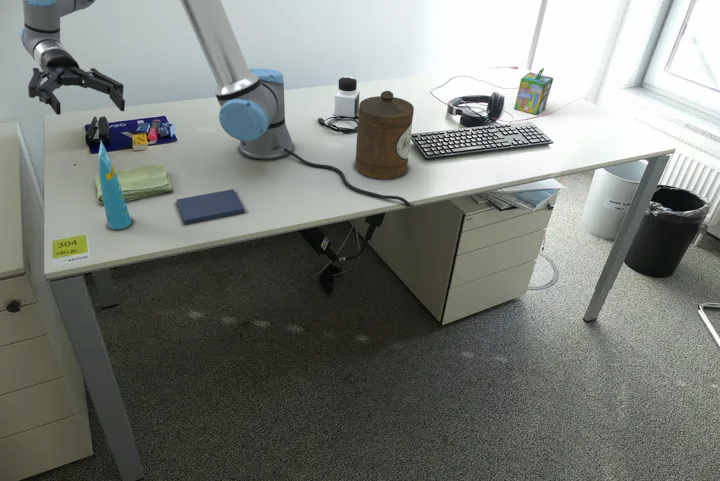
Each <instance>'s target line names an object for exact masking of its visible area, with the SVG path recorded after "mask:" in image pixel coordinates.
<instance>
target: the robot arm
mask: <svg viewBox="0 0 720 481" xmlns="http://www.w3.org/2000/svg"><path fill="white" fill-rule="evenodd" d="M96 1H97V0H22V8H23V11H22V12H23V22H24V24H23V26H22V28H21V29H20V32H19V38H20V41H21V43H22V46H23V47H24V49H25V50H26V51H27V53H28V54H29V55H30V56H31V57H32V59H33V60H34V62H36V65H38V66H39V67H33V68H32V76H31V79H30V81H29V83H28V85H27V88H28V90H27V91H28V97H29V98H31V99H34V98H36V97H38V101H39V102H41V103H44V104H45V105H49V106H50V108H51V109H52V110H53V112H54V113H55V114H56V115H60V116H61V115H62V113H61V110H62V108H61V102H60V100H59V99H58V98H57V96H56V94H54V93H53V92H54V91H55V90H59V89H60V88H61V87H63V86H65V87H69V86H75V87H76V86H78V87H80V88H83V89H88V88H89V89H91V90H95V91H97V92H100V93H103V94H106V95H108V96H109V99H110V100H111V102H113V104H114V105H115V106H116V107H117V108H118V110H119V112H125V108H126V107H125V106H126V104H125V103H126V100H125V99H124V88H125V87H124V86H125V85H124V83H121V82H119V81H117V80H116V79H114V78H111V77H110V76H107V75H106V74H104V73H102V72H100V71H98V69H96V68H95V67H91V68H90V70H89V71H88V70H87V71H85V70H84V69H82V68H81V67H80V65H79V63H78V62H77V61H76V59H75V58H74V56H73V55H72V54H71V53H70V51H69V50H68V49H67V47H65V46H64V45H63V44H62V42H61V18H62V17H65V16H68V15H70V14H72V13H75V12H78V11H81V10H85V9H86V8H89V7H91V5H93V4H94V3H96ZM179 1H180V3H181V6H182V8H183V10H184V12H185V15H186V17H187V19H188V21H189V22H188V23H189V24H190V26H191V28H192V30H193V33H194V35H195V37H196V40H197V42H198V44H199V46H200V49H201V51H202V53H203V56H204V57H205V59H206V62H207V64H208V67H209V69H210V71H211V73H212V75H213V78H214V81H215V82H216V84H217V85H216V88H215V91H214V95H215V98H216V100H217V102H218V104H219V106H220V108H219V113H218V121H219V124H220V126H221V128H222V129H223V131H224V132H225V133H226V134H227V135H229V136H230V137H231V138H234V139H235V140H238V141H240V142H239V150H240V152H241V154H243V155H244V156H246V157H248V158H251V159H254V160H264V161H265V160H266V161H267V160H276V159H280V158H283V157H285V156H288V155H290V156H292V157H294V158H296V159H297V160H298V161H299V162H301V163H303V164H304V165H306V166H307V165H308V166H309V167H314V168H321V169H322V168H323V169H329V170H332V171H335V172H337V174H339V175H340V177H341V180H342V182H343V183H344V185H345V186H346V187H347V188H349V189H351V190H353V191H355V192H358V193H361V194H364V195H368V196H372V197H376V198H378V199H385V200H398V201H400V202H402V203H404V204H405V205H406V206H407V207H408V208H410V207H412V205H411V203H410V202H409V201H408V200H407V199H406V198H404V197H402V196H399V195H385V194H380V193H376V192H372V191H368V190H366V189H361V188H358V187H356V186H354V185H352V184H351V183H349V181H347V179H346V176H345V174H344V173H343V171H342V170H340V169H339V168H338V167H335V166H333V165H328V164H319V163H314V162H311V161H307V160H306V159H304V158H302V157H301V156H299V155H298V154H296V153H294V152H293V151H292V150H293V140H292V137H291V135H290V131H289V129H288V127H287V124H286V110H285V109H286V107H285V106H286V105H285V82H284V75H283V73H281V71H279V70H276V69H271V68H263V67H262V68H259V67H257V68H249V66H248V64H247V62H246V59H245V57H244V56H245V55H244V54H243V52H242V49H241V46H240V45H239V41H238V39H237V37H236V34H235V32H234V29H233V27H232V25H231V22H230V19H229V17H228V15H227V11H226V10H225V7H224V5H223V3H222V0H179ZM39 68H40V69H41V70H40V69H39ZM45 78H46V79H47V80H45ZM44 80H45V81H44ZM42 82H43V83H42Z"/></svg>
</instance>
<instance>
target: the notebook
mask: <svg viewBox="0 0 720 481" xmlns="http://www.w3.org/2000/svg"><path fill="white" fill-rule="evenodd" d="M175 200H176V205H177V207H178V210H179V213H180V216H181V218H182V221H183V224H184V225H189V224H190V225H191V224H195V223H200V222H204V221H209V220H215V219H220V218H225V217H229V216H234V215H240V214H244V213H245V208H244V206H243V204H242V202H241V201H240V198H239V197H238V196H237V194H236V192H235V190H234V188H231V189H225V190H220V191H215V192H210V193H204V194H199V195H192V196H189V197H188V196H187V197H183V198H176V199H175Z"/></svg>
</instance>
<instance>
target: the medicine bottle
mask: <svg viewBox="0 0 720 481" xmlns="http://www.w3.org/2000/svg"><path fill="white" fill-rule="evenodd" d="M357 83H358V81H357V79H356V78H354V77H352V76H343V77H340V78H339V79H338V90H337V92H336V93H335V94H334V110H333V111H334V116H337V117H345V118H352V119H355V117H356V116H357V114H358V113H359V105H360V90H357V87H358V85H357Z"/></svg>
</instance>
